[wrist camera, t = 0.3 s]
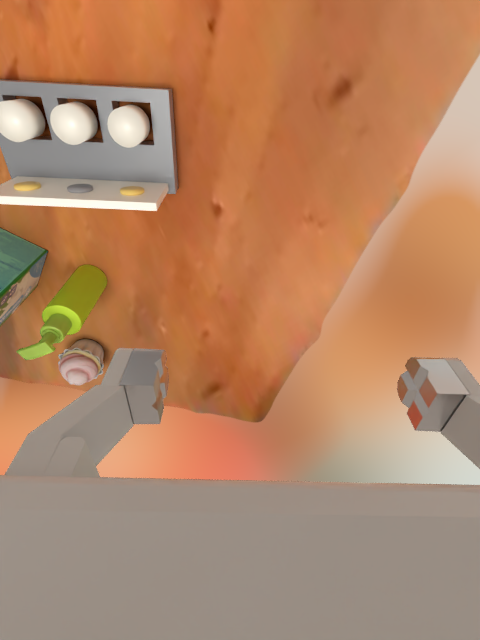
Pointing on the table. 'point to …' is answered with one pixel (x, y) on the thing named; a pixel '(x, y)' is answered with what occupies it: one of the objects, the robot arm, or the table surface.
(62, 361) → the cupcake
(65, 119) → the button middle
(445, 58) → the table surface
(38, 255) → the milk carton
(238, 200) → the table surface
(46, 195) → the console
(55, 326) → the soap dispenser
